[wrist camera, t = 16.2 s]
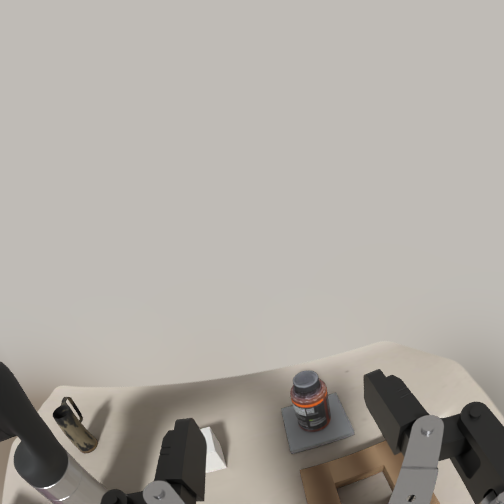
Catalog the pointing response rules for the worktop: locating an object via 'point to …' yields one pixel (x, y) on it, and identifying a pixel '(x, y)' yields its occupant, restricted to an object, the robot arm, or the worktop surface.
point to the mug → (74, 427)
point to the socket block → (351, 473)
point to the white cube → (213, 452)
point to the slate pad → (332, 432)
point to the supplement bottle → (310, 401)
